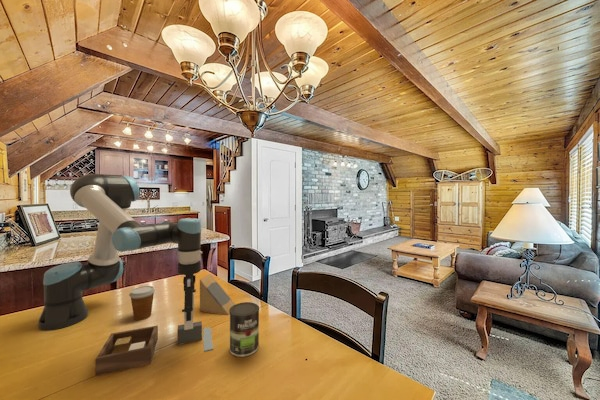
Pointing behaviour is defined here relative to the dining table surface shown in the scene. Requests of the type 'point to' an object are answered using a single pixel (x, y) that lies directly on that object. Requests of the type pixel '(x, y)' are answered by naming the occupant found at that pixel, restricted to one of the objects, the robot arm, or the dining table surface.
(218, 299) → the sandwich container
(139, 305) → the disposable coffee cup
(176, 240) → the robot arm
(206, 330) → the lid
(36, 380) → the dining table surface
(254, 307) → the coffee can
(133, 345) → the off-white block
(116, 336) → the box
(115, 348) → the brass block
